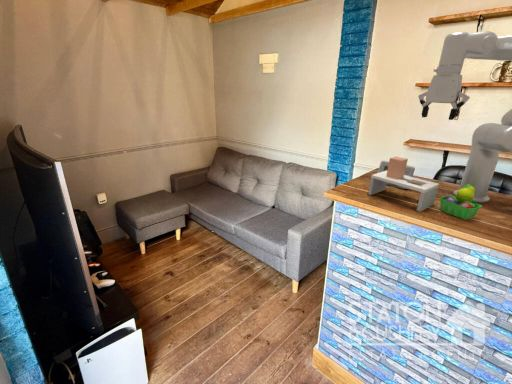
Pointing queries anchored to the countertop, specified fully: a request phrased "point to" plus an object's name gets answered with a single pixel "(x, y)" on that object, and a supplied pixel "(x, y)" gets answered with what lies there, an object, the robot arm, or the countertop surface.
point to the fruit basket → (461, 203)
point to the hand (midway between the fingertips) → (437, 118)
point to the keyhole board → (426, 189)
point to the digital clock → (408, 172)
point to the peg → (396, 168)
